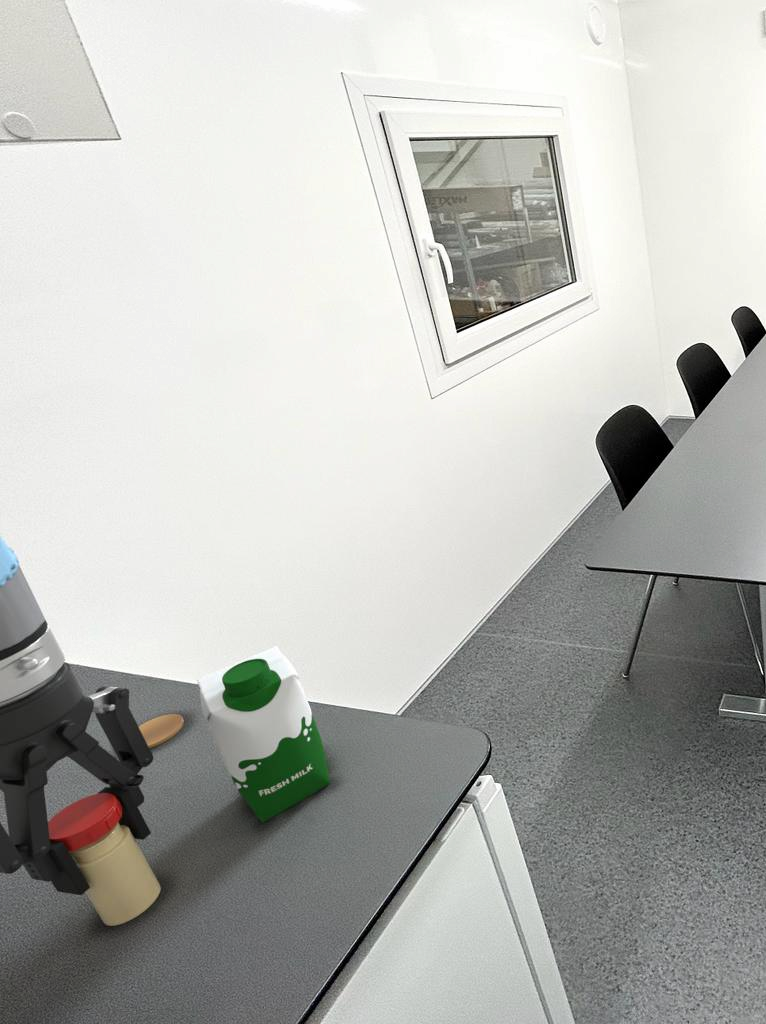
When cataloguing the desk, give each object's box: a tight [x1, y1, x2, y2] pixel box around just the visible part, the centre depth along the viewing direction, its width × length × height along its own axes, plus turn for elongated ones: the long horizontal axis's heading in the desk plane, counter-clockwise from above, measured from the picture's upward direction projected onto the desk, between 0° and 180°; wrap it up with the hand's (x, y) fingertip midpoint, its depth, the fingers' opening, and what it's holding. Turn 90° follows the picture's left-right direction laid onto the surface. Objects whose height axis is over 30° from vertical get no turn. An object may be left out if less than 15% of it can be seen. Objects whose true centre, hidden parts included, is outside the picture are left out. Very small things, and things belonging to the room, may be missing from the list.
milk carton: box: [196, 645, 331, 824], centre depth 76 cm, size 9×9×20 cm
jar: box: [70, 822, 162, 927], centre depth 65 cm, size 4×4×11 cm
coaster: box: [138, 713, 185, 750], centre depth 87 cm, size 6×6×1 cm
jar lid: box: [48, 792, 122, 852], centre depth 62 cm, size 5×5×2 cm
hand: (106, 860), depth 64 cm, fingers closed on jar lid, 5 cm apart
